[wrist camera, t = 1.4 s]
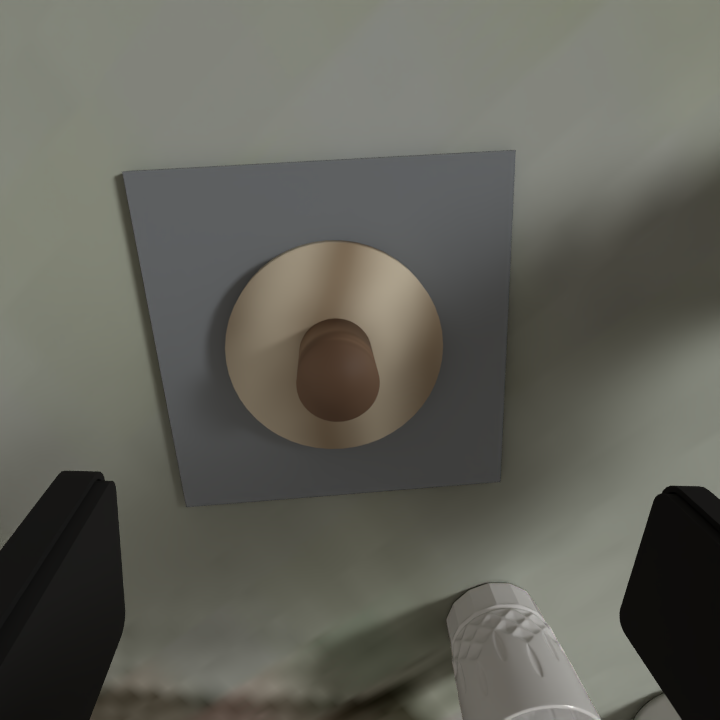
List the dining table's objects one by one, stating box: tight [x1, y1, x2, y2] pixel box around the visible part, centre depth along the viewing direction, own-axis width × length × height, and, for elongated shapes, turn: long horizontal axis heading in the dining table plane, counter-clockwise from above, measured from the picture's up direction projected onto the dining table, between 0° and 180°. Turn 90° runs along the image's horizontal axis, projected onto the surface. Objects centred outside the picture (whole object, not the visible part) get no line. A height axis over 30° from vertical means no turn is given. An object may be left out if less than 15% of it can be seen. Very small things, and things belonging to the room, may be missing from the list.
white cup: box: [446, 583, 602, 720], centre depth 36 cm, size 8×8×10 cm
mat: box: [122, 150, 516, 507], centre depth 32 cm, size 20×20×1 cm
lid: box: [225, 240, 443, 449], centre depth 29 cm, size 12×12×6 cm
